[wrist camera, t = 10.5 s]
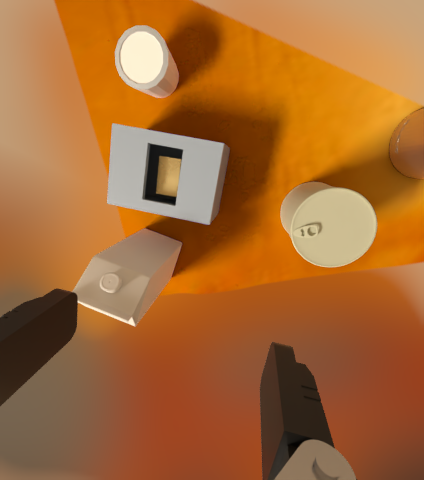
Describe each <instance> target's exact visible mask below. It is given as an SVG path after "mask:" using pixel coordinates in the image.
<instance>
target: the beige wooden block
mask: <svg viewBox="0 0 424 480" xmlns="http://www.w3.org/2000/svg"><path fill="white" fill-rule="evenodd" d="M181 162H182V159H178V158H172V157H164V156H159V165H158V177H157V188H156V193H157V194H163V195H169V196H174V197H177V191H178V184H179V176H180V169H181Z"/></svg>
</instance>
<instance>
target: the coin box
mask: <svg viewBox="0 0 424 480" xmlns="http://www.w3.org/2000/svg"><path fill="white" fill-rule="evenodd" d="M229 153H230V148H229V147H228V146H227V145H225V144H224V143H220V142H214V141H209V140H203V139H197V138H192V137H186V136H180V135H175V134H169V133H164V132H158V131H152V130H147V129H141V128H136V127H130V126H124V125H119V124H113V123H112V135H111V150H110V166H109V182H108V198H107V204H112V205H117V206H121V207H126V208H131V209H136V210H141V211H145V212H150V213H155V214H160V215H164V216H169V217H174V218H179V219H184V220H188V221H193V222H198V223H203V224H208V225H210V223H211V222H212V221H213V220H214V218H215V217H216V216H217V214H218V212H219V206H220V201H221V196H222V190H223V185H224V180H225V174H226V169H227V163H228V158H229ZM159 156H164V157H172V158H178V159H182V162H181V169H180V176H179V184H178V191H177V197H174V196H169V195H163V194H157V193H156V188H157V177H158V165H159Z"/></svg>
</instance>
